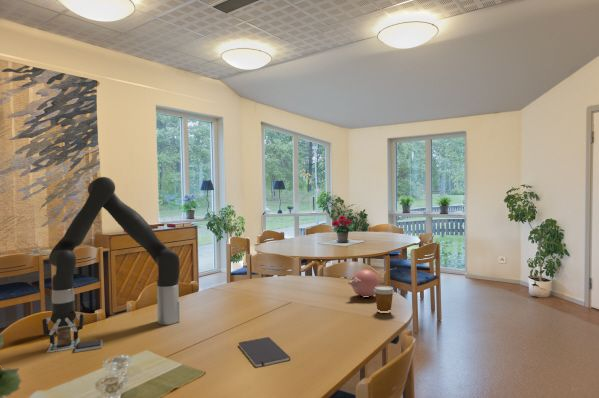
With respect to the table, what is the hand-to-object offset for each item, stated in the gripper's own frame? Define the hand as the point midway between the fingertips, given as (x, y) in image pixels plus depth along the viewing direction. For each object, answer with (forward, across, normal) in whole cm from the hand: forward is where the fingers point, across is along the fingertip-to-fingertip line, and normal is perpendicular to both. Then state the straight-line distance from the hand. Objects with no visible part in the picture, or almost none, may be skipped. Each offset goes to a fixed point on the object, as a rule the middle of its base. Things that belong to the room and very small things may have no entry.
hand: (64, 342), depth 150 cm
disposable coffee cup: (+2, -137, +22) cm, 139 cm away
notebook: (+2, -68, +40) cm, 79 cm away
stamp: (+1, 0, 0) cm, 1 cm away
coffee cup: (+2, +2, -17) cm, 17 cm away
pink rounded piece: (+2, -142, -4) cm, 142 cm away
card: (+1, 0, 0) cm, 1 cm away
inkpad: (+1, -9, +6) cm, 11 cm away
